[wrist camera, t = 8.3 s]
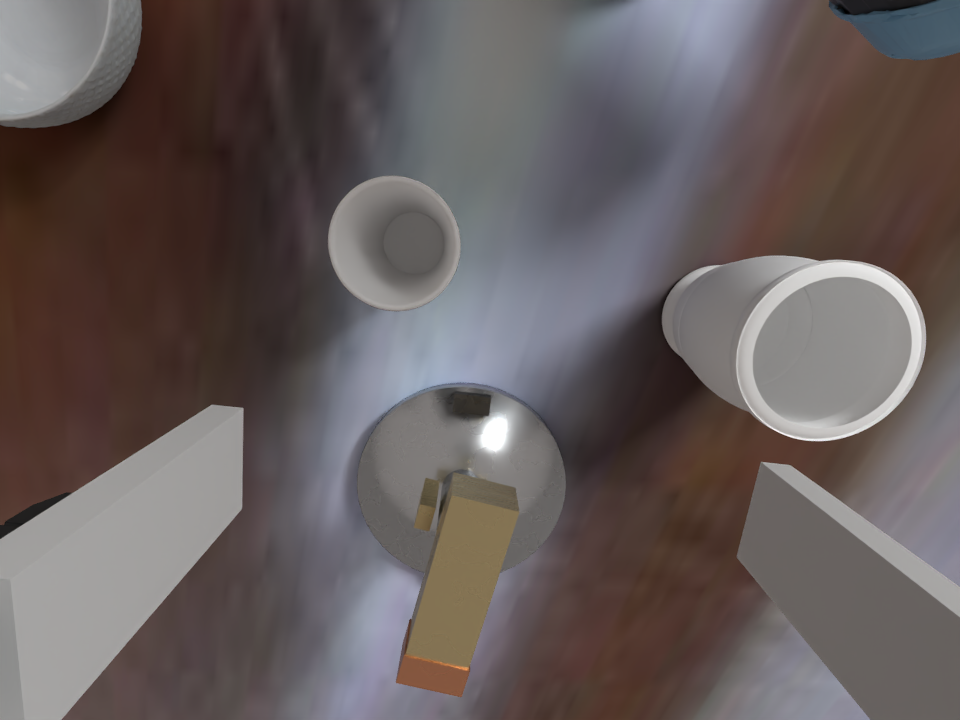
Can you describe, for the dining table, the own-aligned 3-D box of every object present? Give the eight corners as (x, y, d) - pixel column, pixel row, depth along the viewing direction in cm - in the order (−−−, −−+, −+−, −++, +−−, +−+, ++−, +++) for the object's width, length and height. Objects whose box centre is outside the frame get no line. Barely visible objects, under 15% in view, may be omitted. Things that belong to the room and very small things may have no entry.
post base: (367, 371, 44) (343, 402, 36) (577, 394, 45) (601, 429, 36) (354, 559, 48) (329, 626, 40) (547, 577, 49) (562, 647, 40)
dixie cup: (479, 269, 42) (481, 280, 32) (391, 308, 43) (363, 331, 32) (438, 174, 41) (426, 151, 30) (347, 216, 41) (303, 209, 30)
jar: (790, 262, 42) (956, 275, 28) (756, 383, 45) (893, 454, 30) (663, 243, 42) (764, 245, 27) (635, 366, 44) (715, 429, 30)
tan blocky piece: (403, 556, 44) (376, 678, 32) (442, 416, 42) (429, 490, 29) (478, 574, 45) (480, 701, 33) (521, 436, 42) (541, 518, 30)
